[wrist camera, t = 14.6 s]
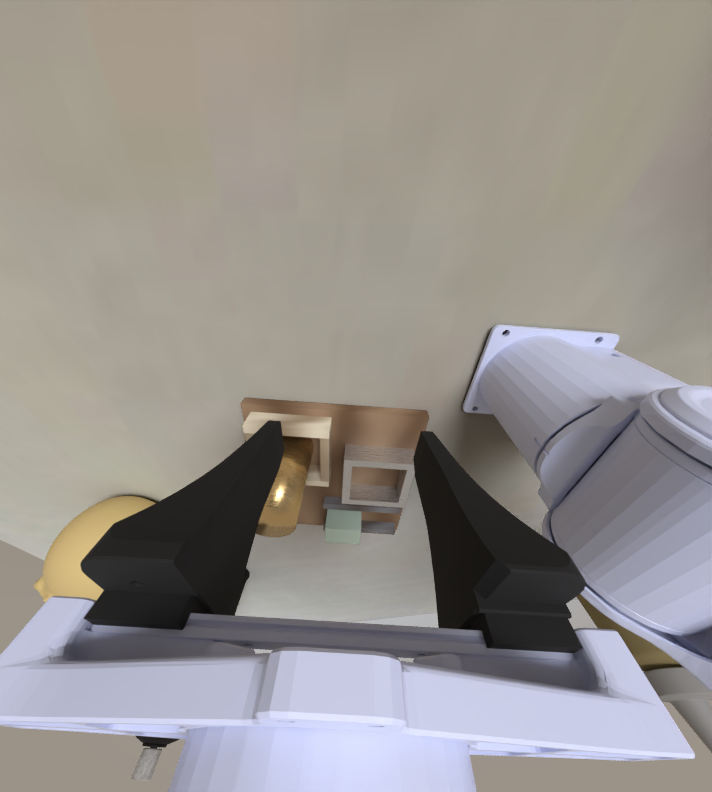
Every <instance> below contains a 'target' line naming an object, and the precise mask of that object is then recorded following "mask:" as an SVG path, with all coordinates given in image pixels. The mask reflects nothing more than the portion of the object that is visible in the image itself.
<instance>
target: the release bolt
mask: <svg viewBox="0 0 712 792" xmlns="http://www.w3.org/2000/svg"><path fill="white" fill-rule="evenodd" d="M360 535H361V511H348V510H333V509H328V510H327V518H326V525H325V542H330V543H346V544H359V542H360Z"/></svg>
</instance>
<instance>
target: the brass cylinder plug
mask: <svg viewBox="0 0 712 792" xmlns="http://www.w3.org/2000/svg"><path fill="white" fill-rule="evenodd" d="M283 443H284V453H283V457H282V461H281V465H280V468H279V471H278V473H277V476H276V478H275V481H274V483H273V486H272V488H271V491H270V493H269V496H268V498H267V501H266V503H265V505H264V508H263V511H262V514H261V516H260V520H259V523H258V526H257V530H256V534H259V535H263V536H268V537H282V536H286V535H289V534H291V533H292V532H293V531H294V530H295V528H296V525H297V520H298V516H299V511H300V507H301V503H302V498H303V494H304V489H305V485H306V481H307V476H308V472H309V467H310V463H311V459H312V454H313V450H314V443H313V441H312V439H311V438H309V437H294V436H283Z"/></svg>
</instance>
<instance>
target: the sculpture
mask: <svg viewBox="0 0 712 792" xmlns="http://www.w3.org/2000/svg"><path fill="white" fill-rule="evenodd" d="M154 504H156V503H155V502H153V501H150V500H148V499H145V498H141V497H136V496H120V497H114V498H110V499H107V500H104V501H102V502H99V503H97V504H95V505H93V506H92V507H90V508H88V509H87V510H85V511H83V512H82V513H81V514H79V515H78V516H77V517H75V518H74V519H73V520H72V521H71V522H70V523H69V524H68V525H67V526H66V527H65V528H64V529H63V530H62V531H61V532H60V534H59V535H58V536H57V538H56V539H55V540H54V542H53V544H52V545H51V547H50V549H49V551H48V553H47V556H46V559H45V562H44V567H43V576H42V577H41V578H40V579H39V580H37V581H36V582H35V583H34V588H35V589H36V590H37V591H39V593H40V594H41V596H42V597H43V598H44V599H43V601H44V602H46V601H47V600H48V599H49V598H50V597H52V596H69V597H84V598H90V599H93V600H96V601H97V599H98V598H99V596H100V595H101V594H102V592H103V591H104V590H103V589H102V588H101V587H100V586H98V585H97V584H96V583H95V582H93V581H92V580H91V579H90V578H89V577H87V576H86V575H85V574H84V573H83V572H82V570H81V566H80V563H81V561H82V560H83V559H84V557H85V556H86V555H87V554H88V553H89V552H90V550H91V549H92V548H93V547H94V546H95V545H96V543H97V542H98V541H99V540H100V539H101V538H102V536H103V535H104V534H105V533H106V532H107V531H108V529H109V528H110V527H111V526H112V525H113V524H114V523H116V522H118V521H120V520H122V519H125V518H127V517H129V516H131V515H133V514H135V513H137V512H139V511H142V510H144V509H146V508H148V507H150V506H152V505H154Z"/></svg>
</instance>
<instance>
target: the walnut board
mask: <svg viewBox="0 0 712 792" xmlns="http://www.w3.org/2000/svg"><path fill="white" fill-rule="evenodd" d="M241 408H242V413H243V417H244V421H245V420H246V419H247V417H248V416H249V414H250V412H263V413H277V414H291V415H305V416H320V417H332V437H331V474H330V481H329V487H323V486H308V485H305V489H304V494H303V498H302V503H301V507H300V511H299V516H298V520H297V523H298V524H313V525H324V530H325V525H326V518H327V510H328V509H333V510H348V511H361V532H363V533H378V534H394V533H395V530H397V526H398V523H399V519H400V516H401V512H402V509H403V508H400V507H385V506H370V505H355V504H342V488H343V471H344V456H345V445H360V446H375V447H389V448H403V449H414V453H415V450H416V447H417V443H418V440H419V436H420V433H421V431H425V430H426V426H427V423H428V420H429V415H428V412H427V411H425V410H411V409H397V408H383V407H369V406H355V405H341V404H327V403H312V402H298V401H284V400H270V399H256V398H244V400H243V401H242V403H241ZM311 439H312V441H313V443H314V450H313V454H312V459H311V463H310V465H320V438H311ZM399 474H400V470H398V469H384V468H369V467H354V466H352V475H351V484H363V485H378V486H392V487H396V486H397V482H398V478H399Z"/></svg>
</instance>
